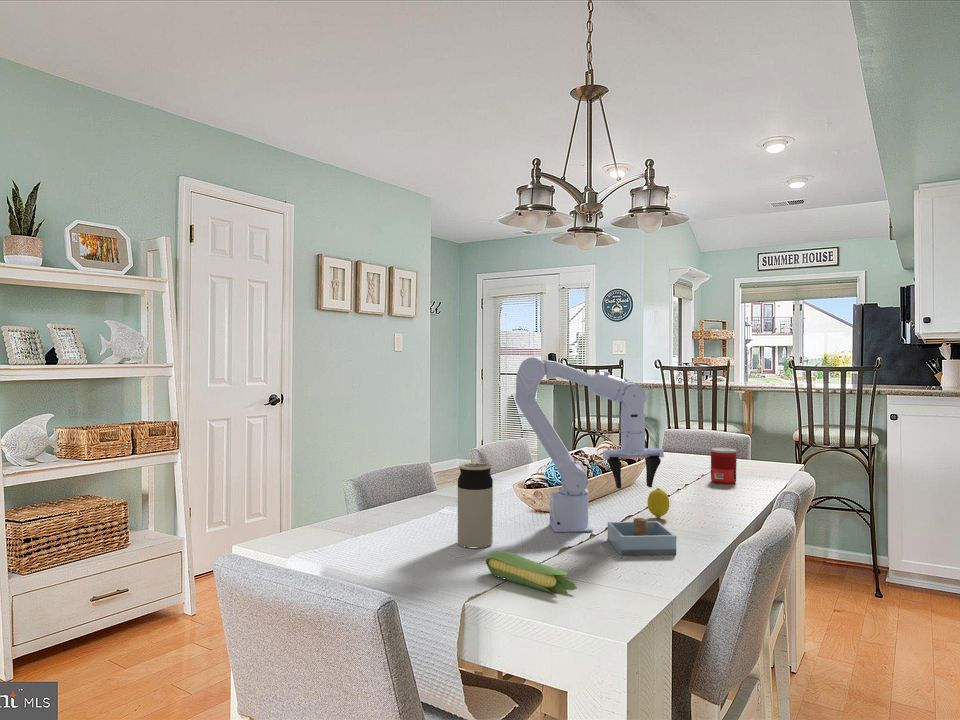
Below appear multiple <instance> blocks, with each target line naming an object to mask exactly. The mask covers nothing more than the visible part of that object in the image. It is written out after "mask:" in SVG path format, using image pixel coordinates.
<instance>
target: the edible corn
mask: <svg viewBox="0 0 960 720" xmlns="http://www.w3.org/2000/svg"><path fill="white" fill-rule="evenodd" d="M485 563H486V565H487V569H488V570H489V572H490V573H491V575H493V574H494V575H496V576H499V577H502V578H505V579H507V580H506V581H509V582H512V583H517V584H519V585H523V586H527V587H530V588H533V589H536V590H538V591H542V592H546V593H549V594H552V595H555V593H556V594H560V593H563V594H567V595H568V594H569V593H568V591H574V590H576V589H578V587H577V585H576V584H575V583H574V582H573V581H571V580H570V579H568V578H566V577H565V576H566V575H568V573H567V572H566V571H564V570H561V569H558V568H555V567H552V566H550V565H546V564H543V563H540V562H536V561H535V560H531V559H528V558H525V557H523V556H520V555H519V554H516V553H513V552H510V551H507V550H506V551H505V550H501V551H500V550H499V551H498V550H497V551H496V552H493V553H491V554H490V555H489V556H487V557H486V558H485ZM494 575H493V576H494ZM496 576H495V577H496ZM502 578H501V579H502ZM505 579H504V580H505Z"/></svg>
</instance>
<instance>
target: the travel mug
mask: <svg viewBox="0 0 960 720" xmlns="http://www.w3.org/2000/svg"><path fill="white" fill-rule="evenodd" d="M492 467H493V466H492V464H491V463H487V462H475V461H474V462H464V463H460V464H459V465H458V468H459V470H460V471H459V472H460V474H459V476H458V478H457V544H458V545H459V546H461V547H463V546H465V547H464V548H466V547H484V548H487V547H486V546H488V547H489V546H491V545H492V544H493V542H494V541H493V537H494V536H493V534H494V533H493V531H494V530H493V528H494V527H493V526H494V524H493V523H494V522H493V521H494V520H493V516H494V513H493V511H494V510H493V507H494V506H493V504H494V502H493V501H494V500H493V499H494V497H493V496H494V495H493V493H494V491H493V490H494V489H493V487H494V485H493V484H494V483H493V481H494V479H493V477H492V475H491V468H492Z"/></svg>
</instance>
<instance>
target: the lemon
mask: <svg viewBox="0 0 960 720" xmlns="http://www.w3.org/2000/svg"><path fill="white" fill-rule="evenodd" d="M669 498H670V497H669V495H668V494H667V492H666V491H665V490H663V489H661V488H660V487H657V488H656V489H653V490H652V491H651V492H649V494H648V497H647V508H648V511H649V512H650V513H651V515H653V516H655V517H656V519H661V517H664V516H665V515H666V514H668V512H669V509H670V499H669Z"/></svg>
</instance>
